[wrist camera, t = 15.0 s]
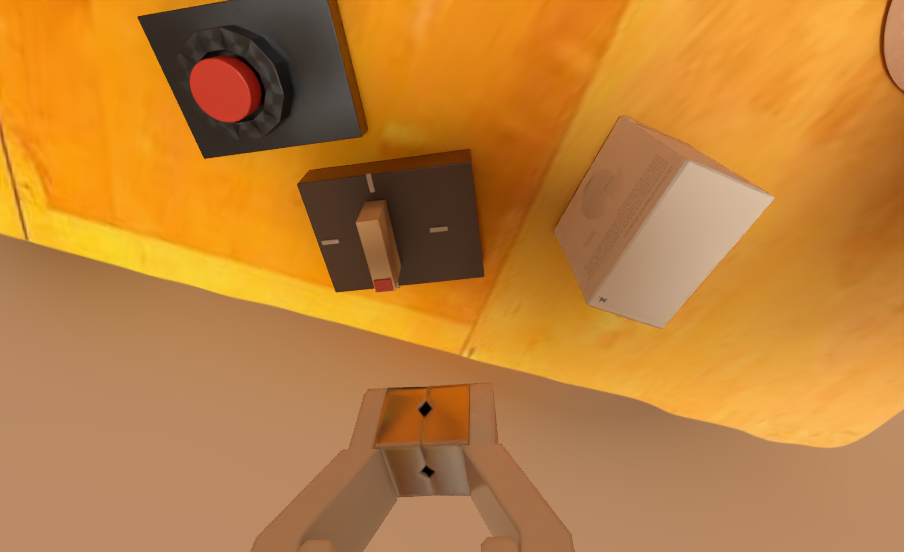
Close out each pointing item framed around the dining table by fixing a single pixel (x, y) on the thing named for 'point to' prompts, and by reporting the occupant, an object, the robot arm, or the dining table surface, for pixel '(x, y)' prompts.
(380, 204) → the knob
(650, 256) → the cosmetics box
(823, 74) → the dining table surface
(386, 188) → the panel
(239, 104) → the button
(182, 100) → the button box
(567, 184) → the dining table surface
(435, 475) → the robot arm
